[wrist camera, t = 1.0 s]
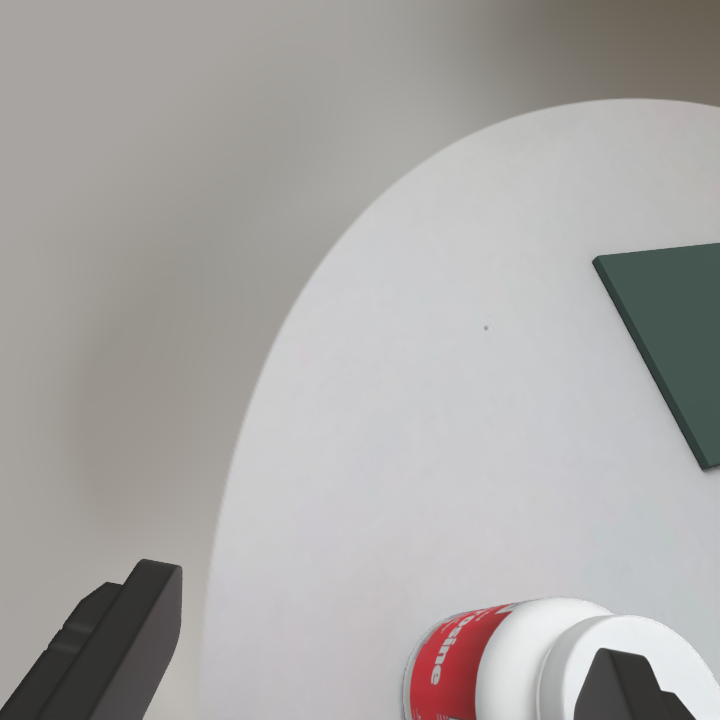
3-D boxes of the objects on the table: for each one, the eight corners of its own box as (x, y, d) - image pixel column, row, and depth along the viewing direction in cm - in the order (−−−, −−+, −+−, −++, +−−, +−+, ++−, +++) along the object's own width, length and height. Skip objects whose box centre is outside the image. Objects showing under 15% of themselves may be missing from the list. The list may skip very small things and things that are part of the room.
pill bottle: (488, 588, 26) (656, 543, 16) (567, 729, 24) (809, 773, 14) (370, 662, 23) (487, 660, 14) (447, 826, 21) (645, 957, 12)
